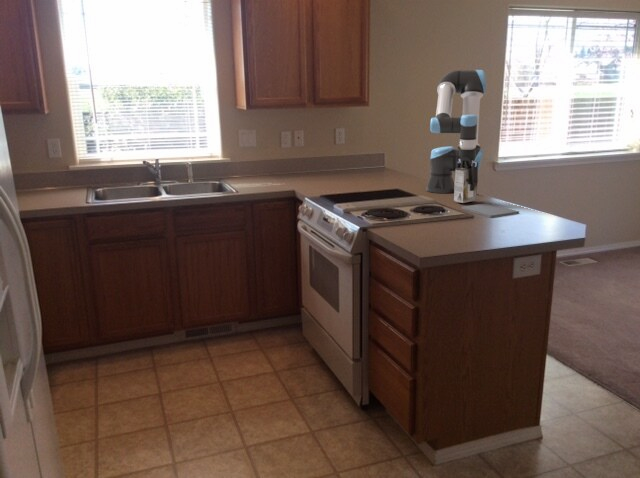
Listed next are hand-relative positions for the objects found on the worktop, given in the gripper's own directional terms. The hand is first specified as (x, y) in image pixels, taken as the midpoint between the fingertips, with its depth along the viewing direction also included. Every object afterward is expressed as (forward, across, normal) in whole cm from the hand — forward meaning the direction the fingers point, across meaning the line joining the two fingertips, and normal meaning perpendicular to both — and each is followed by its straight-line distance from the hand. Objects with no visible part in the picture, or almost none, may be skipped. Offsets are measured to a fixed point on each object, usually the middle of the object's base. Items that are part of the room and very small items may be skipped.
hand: (465, 195), depth 272 cm
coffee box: (+3, 0, 0) cm, 3 cm away
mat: (+3, +19, -1) cm, 20 cm away
